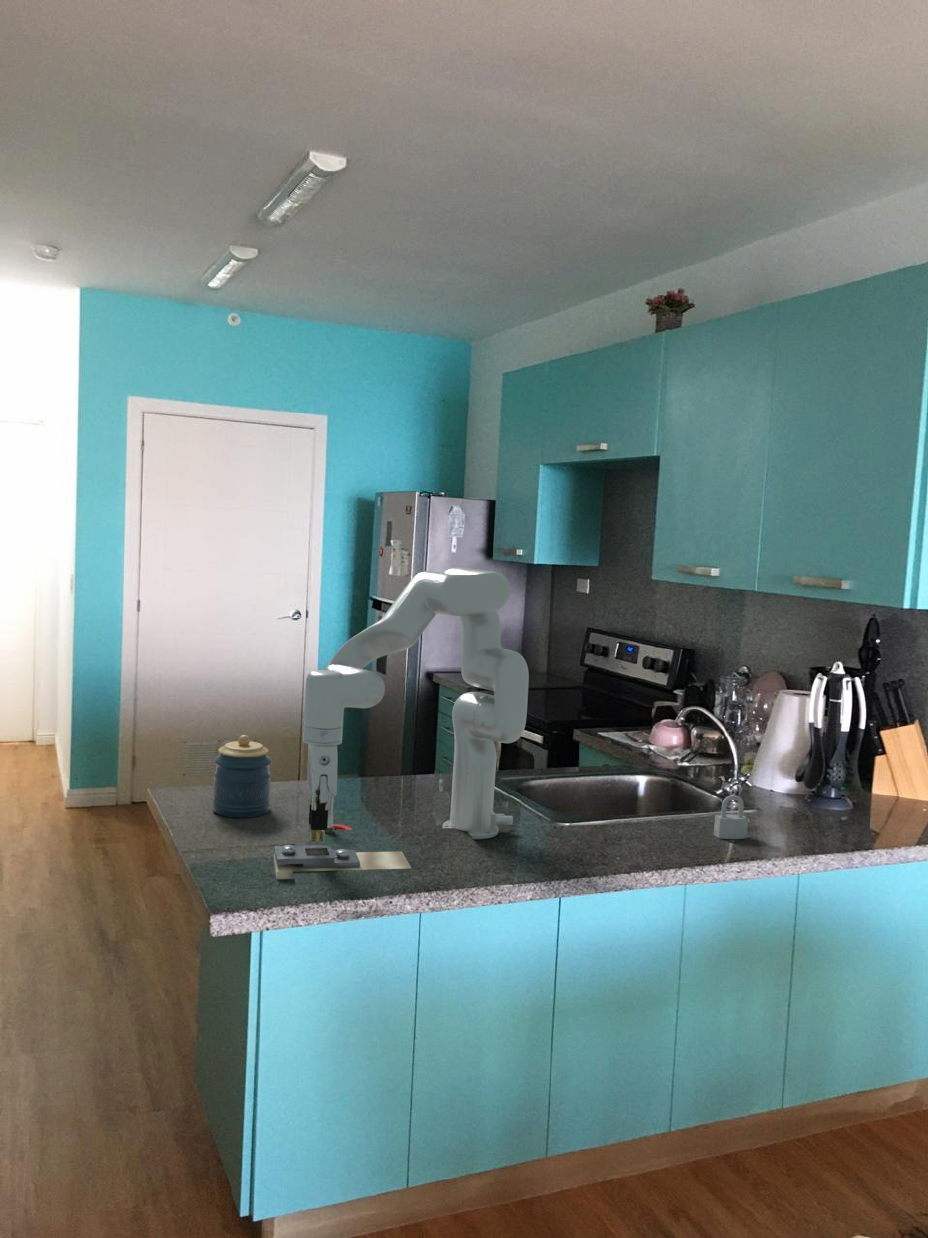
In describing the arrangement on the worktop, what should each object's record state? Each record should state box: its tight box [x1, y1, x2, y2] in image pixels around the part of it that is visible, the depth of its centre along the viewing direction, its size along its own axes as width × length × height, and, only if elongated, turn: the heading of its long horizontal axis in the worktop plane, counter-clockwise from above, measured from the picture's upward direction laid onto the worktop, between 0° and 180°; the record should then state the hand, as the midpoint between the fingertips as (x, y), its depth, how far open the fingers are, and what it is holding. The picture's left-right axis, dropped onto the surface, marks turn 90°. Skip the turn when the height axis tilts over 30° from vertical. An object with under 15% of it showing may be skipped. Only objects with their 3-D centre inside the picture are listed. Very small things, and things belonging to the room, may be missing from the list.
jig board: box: [272, 850, 412, 880], centre depth 204 cm, size 26×10×2 cm, turn 104°
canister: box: [212, 734, 273, 819], centre depth 237 cm, size 13×13×18 cm
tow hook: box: [325, 791, 353, 834], centre depth 225 cm, size 8×13×9 cm
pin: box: [309, 791, 326, 843], centre depth 202 cm, size 3×3×10 cm
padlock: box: [713, 794, 749, 840], centre depth 241 cm, size 7×4×10 cm, turn 102°
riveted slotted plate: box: [273, 844, 360, 869], centre depth 203 cm, size 16×8×3 cm, turn 104°
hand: (317, 826), depth 202 cm, fingers closed on pin, 2 cm apart
